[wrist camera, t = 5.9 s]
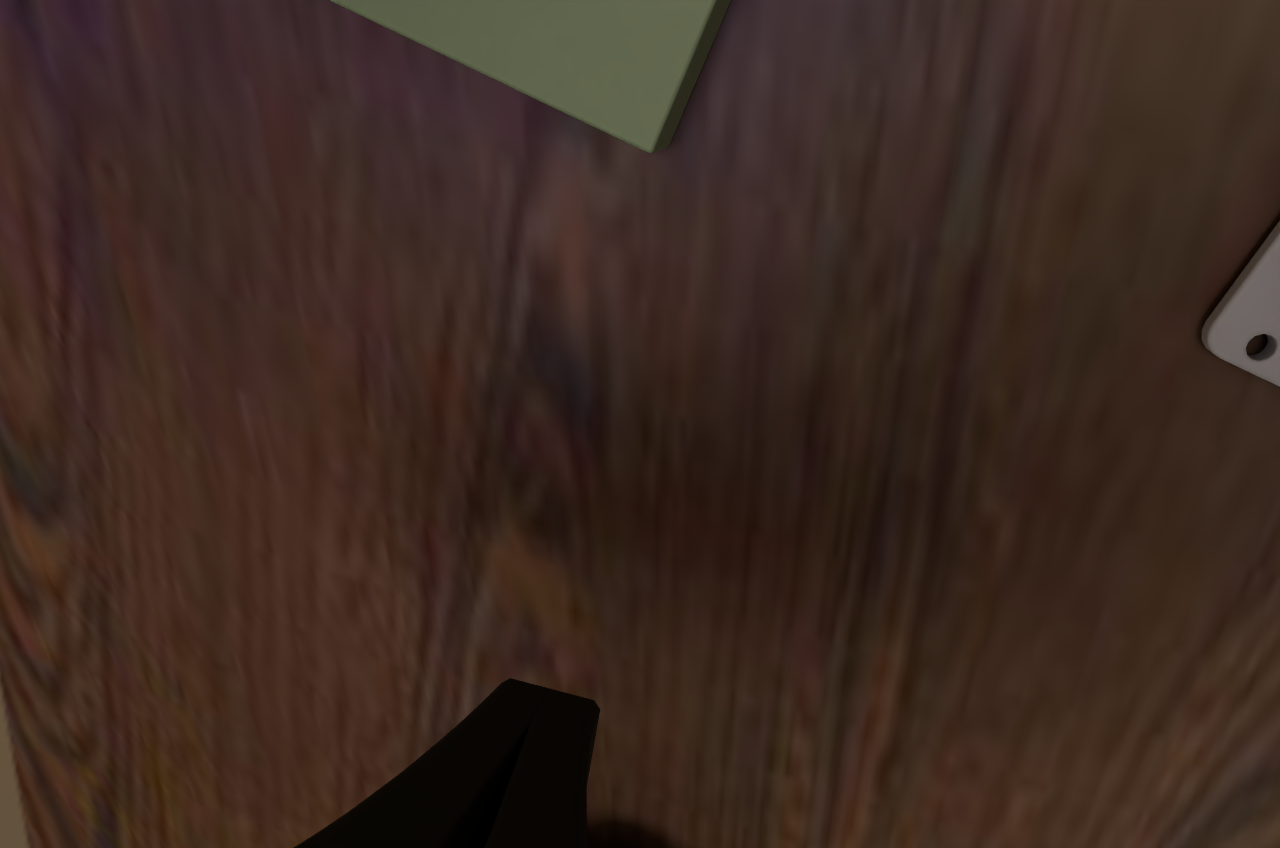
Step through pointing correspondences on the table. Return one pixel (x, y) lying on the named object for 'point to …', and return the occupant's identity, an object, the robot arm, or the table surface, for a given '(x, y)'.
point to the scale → (573, 53)
